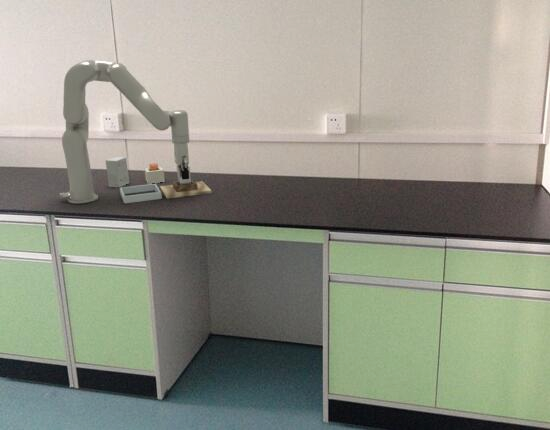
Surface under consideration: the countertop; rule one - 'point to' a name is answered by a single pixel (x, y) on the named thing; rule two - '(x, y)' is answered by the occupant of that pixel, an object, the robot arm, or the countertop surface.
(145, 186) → the tote tray
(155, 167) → the button
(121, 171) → the small box
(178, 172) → the block
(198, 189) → the plate
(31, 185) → the countertop surface
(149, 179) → the button post
